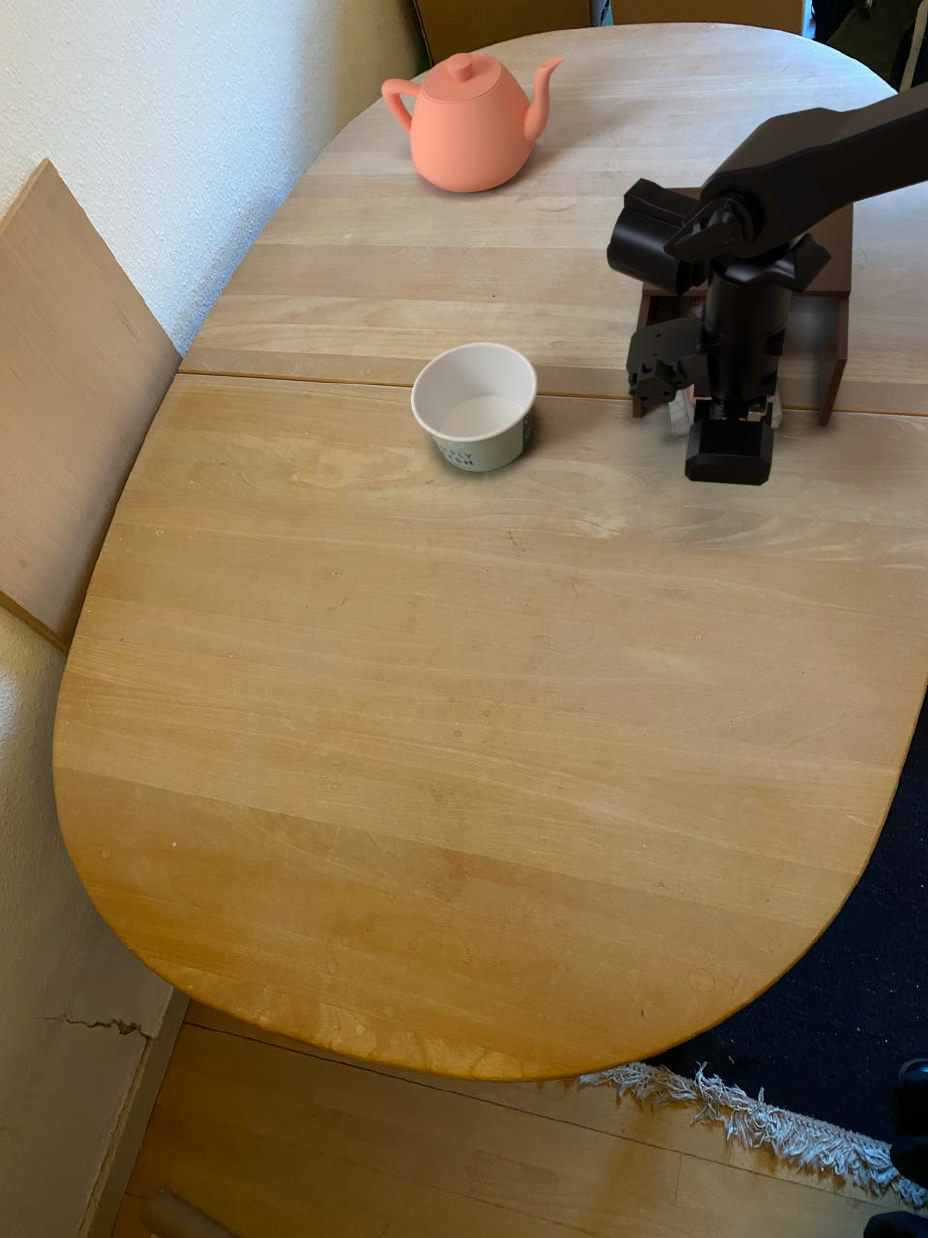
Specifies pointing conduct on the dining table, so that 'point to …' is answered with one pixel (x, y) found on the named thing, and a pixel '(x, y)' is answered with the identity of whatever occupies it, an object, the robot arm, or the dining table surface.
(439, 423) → the food container
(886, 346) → the dining table surface
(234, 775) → the dining table surface
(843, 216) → the cubby shelf
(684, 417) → the packaged product
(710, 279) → the robot arm
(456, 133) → the teapot
